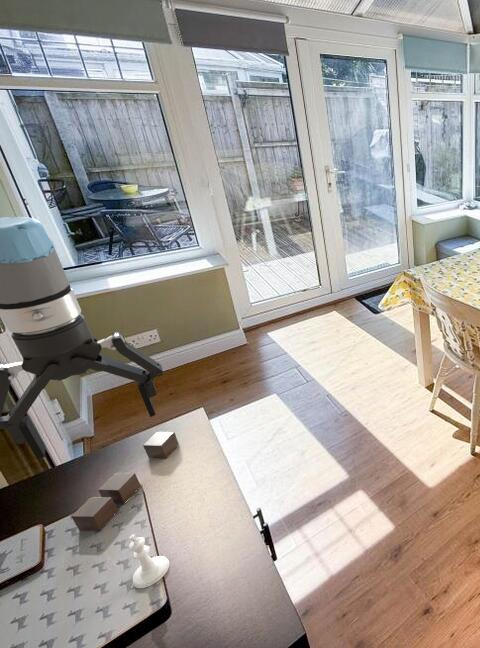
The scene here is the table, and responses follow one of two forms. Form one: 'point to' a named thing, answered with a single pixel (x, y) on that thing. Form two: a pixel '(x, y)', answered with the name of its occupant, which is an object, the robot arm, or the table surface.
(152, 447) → the walnut block
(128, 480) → the walnut block
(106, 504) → the walnut block
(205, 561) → the table surface
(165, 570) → the chess piece
